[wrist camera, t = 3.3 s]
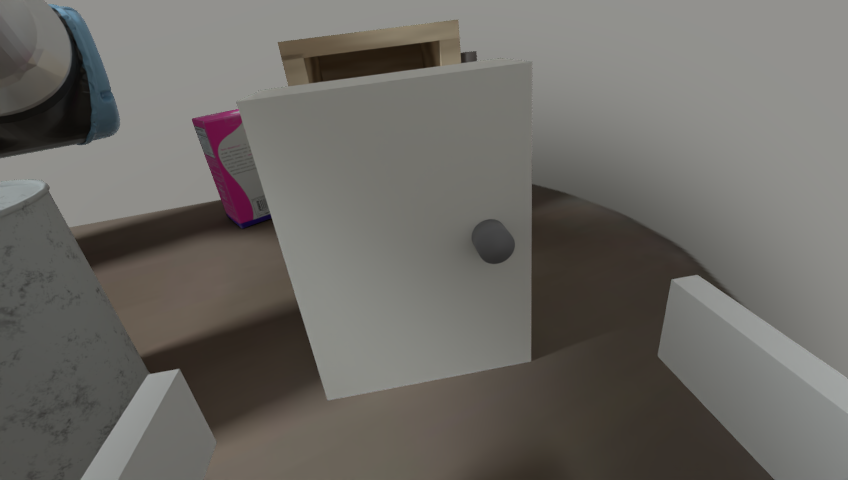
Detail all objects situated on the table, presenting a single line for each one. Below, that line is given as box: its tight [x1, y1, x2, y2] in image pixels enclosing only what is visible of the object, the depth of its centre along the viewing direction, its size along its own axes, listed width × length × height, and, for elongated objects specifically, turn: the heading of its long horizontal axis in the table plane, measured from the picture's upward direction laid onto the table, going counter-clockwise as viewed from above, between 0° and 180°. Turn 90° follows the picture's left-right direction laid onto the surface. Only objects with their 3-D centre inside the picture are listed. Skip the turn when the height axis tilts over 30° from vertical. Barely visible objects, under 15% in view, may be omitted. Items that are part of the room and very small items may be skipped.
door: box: [237, 58, 532, 400], centre depth 20 cm, size 5×11×15 cm, turn 98°
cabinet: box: [278, 20, 477, 86], centre depth 35 cm, size 21×14×17 cm
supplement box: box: [192, 109, 272, 229], centre depth 45 cm, size 6×6×12 cm
